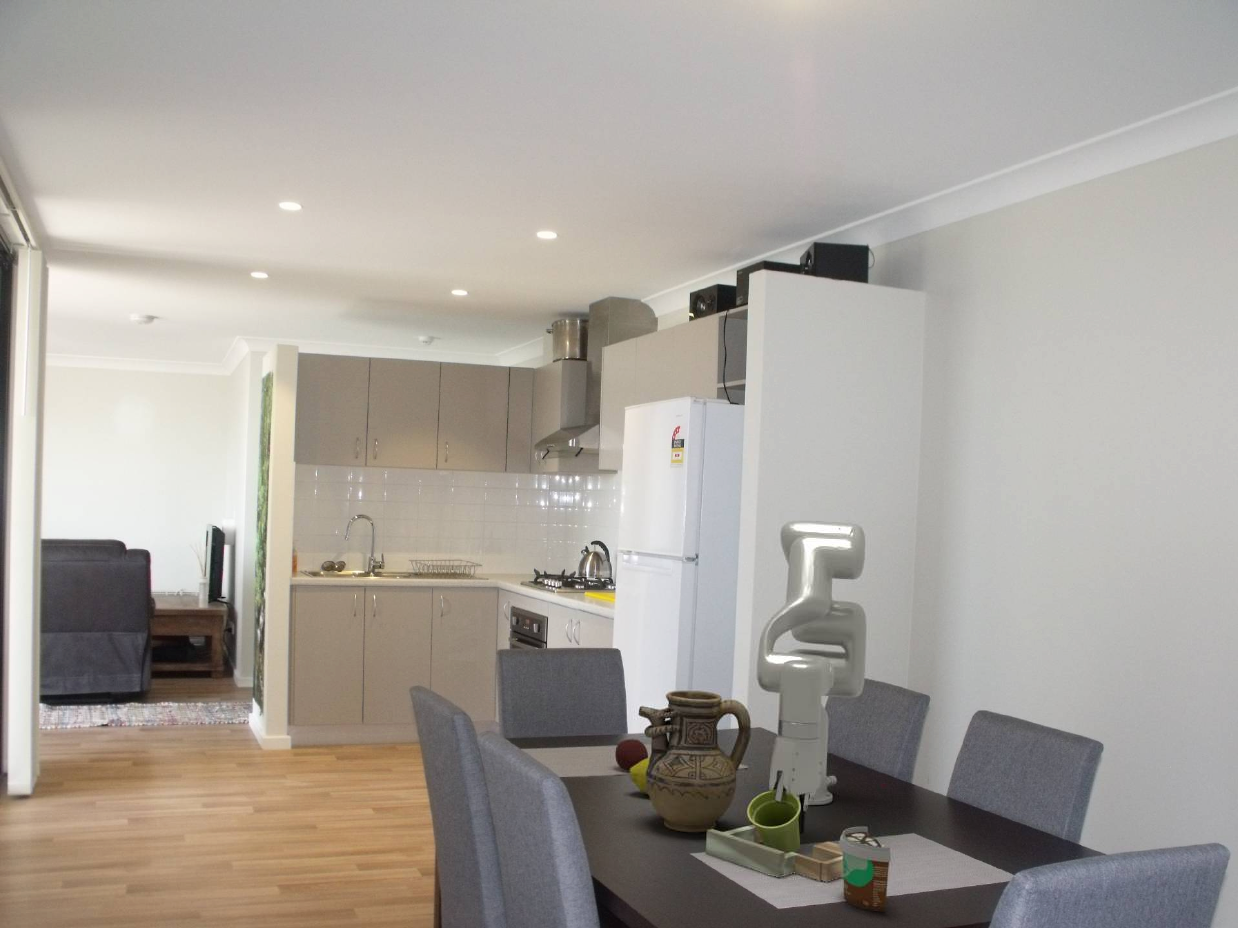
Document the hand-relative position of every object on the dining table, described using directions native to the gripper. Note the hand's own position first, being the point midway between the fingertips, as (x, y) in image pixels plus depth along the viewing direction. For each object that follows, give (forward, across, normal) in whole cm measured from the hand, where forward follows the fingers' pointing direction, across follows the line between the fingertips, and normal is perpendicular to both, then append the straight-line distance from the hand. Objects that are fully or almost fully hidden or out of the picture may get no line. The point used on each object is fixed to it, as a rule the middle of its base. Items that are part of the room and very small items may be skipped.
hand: (794, 831), depth 202 cm
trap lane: (+3, +2, +3) cm, 5 cm away
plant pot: (+2, +3, 0) cm, 4 cm away
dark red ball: (+4, -19, -60) cm, 63 cm away
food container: (+3, +13, +22) cm, 25 cm away
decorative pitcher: (+4, +4, -21) cm, 22 cm away
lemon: (+4, -7, -41) cm, 42 cm away
